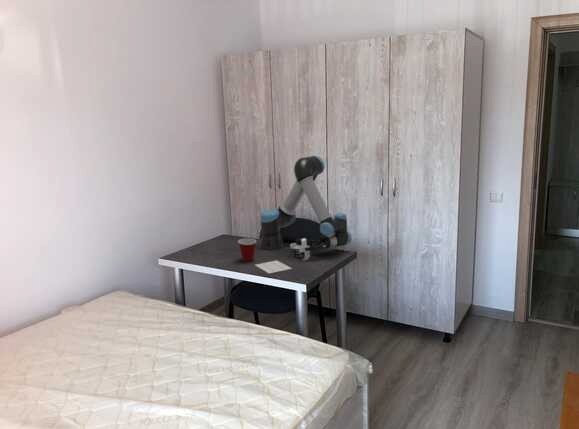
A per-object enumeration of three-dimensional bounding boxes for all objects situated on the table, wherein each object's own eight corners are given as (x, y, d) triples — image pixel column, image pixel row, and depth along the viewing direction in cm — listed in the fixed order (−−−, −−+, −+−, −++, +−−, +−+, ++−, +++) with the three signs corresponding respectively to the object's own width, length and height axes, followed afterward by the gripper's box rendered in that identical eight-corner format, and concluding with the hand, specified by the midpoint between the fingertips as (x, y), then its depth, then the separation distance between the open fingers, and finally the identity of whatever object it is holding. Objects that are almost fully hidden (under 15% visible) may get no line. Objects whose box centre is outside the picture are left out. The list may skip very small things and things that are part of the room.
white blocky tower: (293, 259, 275) (292, 239, 273) (299, 256, 281) (298, 236, 279) (304, 260, 272) (304, 240, 270) (310, 257, 278) (309, 237, 276)
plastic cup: (248, 264, 271) (247, 244, 268) (235, 261, 278) (233, 241, 275) (261, 259, 279) (260, 239, 276) (248, 256, 286) (247, 237, 283)
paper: (254, 265, 268) (254, 264, 268) (276, 260, 275) (276, 260, 275) (268, 273, 253) (268, 273, 253) (291, 268, 259) (291, 268, 259)
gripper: (338, 252, 275) (305, 259, 264) (317, 244, 294) (286, 250, 284) (338, 239, 273) (304, 246, 263) (317, 232, 292) (285, 238, 282)
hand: (295, 248), depth 273 cm, fingers closed on white blocky tower, 10 cm apart
